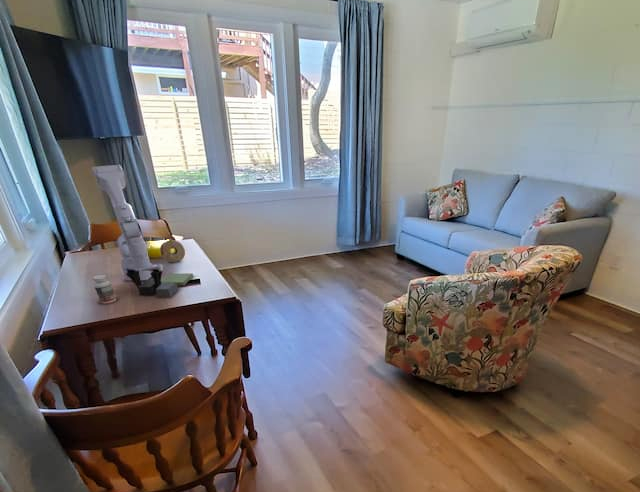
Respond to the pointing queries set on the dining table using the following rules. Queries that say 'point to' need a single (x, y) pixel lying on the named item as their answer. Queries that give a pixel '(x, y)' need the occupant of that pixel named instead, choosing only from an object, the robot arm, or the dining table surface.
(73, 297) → the dining table surface
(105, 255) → the dining table surface
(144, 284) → the black rectangular block
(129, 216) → the robot arm
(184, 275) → the base pad
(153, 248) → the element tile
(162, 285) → the grey block
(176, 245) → the stone disc
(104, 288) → the pill bottle
